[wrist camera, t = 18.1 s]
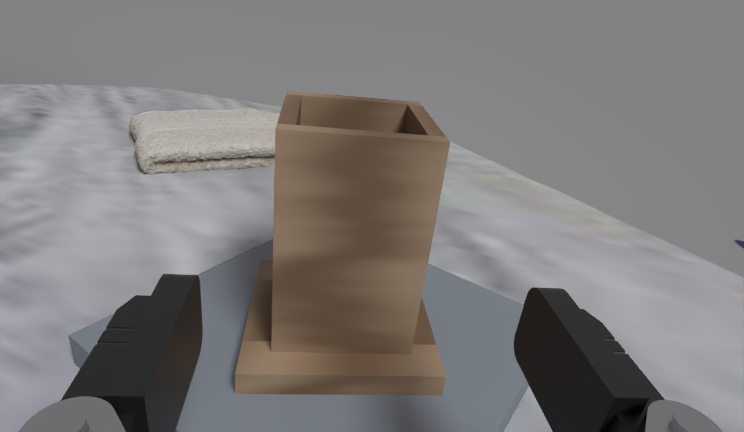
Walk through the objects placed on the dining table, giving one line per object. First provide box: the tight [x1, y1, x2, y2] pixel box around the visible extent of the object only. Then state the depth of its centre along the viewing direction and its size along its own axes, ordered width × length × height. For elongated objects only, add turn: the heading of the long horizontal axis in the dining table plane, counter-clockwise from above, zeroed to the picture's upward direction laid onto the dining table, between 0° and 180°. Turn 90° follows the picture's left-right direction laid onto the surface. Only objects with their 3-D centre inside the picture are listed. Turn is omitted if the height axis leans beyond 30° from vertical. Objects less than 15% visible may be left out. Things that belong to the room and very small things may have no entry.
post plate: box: [68, 240, 529, 432], centre depth 21 cm, size 16×16×10 cm
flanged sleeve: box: [235, 91, 450, 396], centre depth 20 cm, size 8×8×10 cm
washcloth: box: [129, 108, 280, 174], centre depth 47 cm, size 12×18×3 cm, turn 117°
